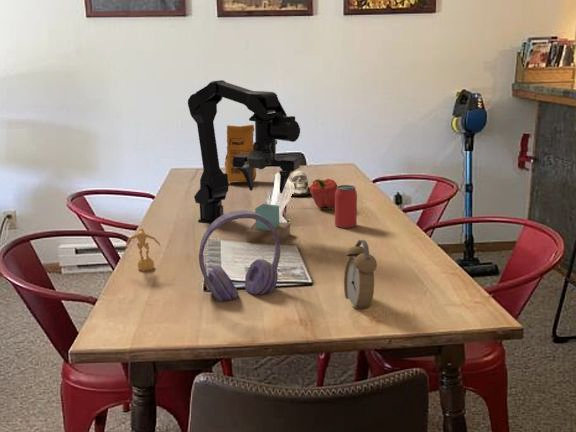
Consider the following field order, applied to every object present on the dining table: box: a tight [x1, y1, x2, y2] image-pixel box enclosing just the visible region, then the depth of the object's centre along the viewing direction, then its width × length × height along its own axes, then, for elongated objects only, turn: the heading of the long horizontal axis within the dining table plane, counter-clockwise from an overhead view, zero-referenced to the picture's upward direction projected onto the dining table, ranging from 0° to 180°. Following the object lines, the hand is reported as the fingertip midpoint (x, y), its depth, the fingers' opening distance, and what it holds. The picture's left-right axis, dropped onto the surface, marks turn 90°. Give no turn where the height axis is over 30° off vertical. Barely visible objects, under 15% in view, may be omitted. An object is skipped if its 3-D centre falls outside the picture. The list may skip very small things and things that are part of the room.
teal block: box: [254, 203, 280, 231], centre depth 179 cm, size 5×5×6 cm
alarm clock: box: [343, 239, 378, 310], centre depth 134 cm, size 11×5×15 cm, turn 11°
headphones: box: [198, 209, 281, 303], centre depth 139 cm, size 18×8×20 cm, turn 114°
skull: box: [289, 170, 311, 196], centre depth 233 cm, size 12×10×10 cm
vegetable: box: [309, 178, 339, 209], centre depth 213 cm, size 11×10×10 cm
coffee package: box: [224, 124, 257, 183], centre depth 252 cm, size 10×12×22 cm
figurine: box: [125, 227, 161, 272], centre depth 155 cm, size 8×6×12 cm
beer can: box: [334, 184, 358, 229], centre depth 191 cm, size 7×7×12 cm
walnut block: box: [246, 221, 291, 245], centre depth 181 cm, size 10×10×4 cm
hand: (266, 191), depth 183 cm, fingers open, 9 cm apart
